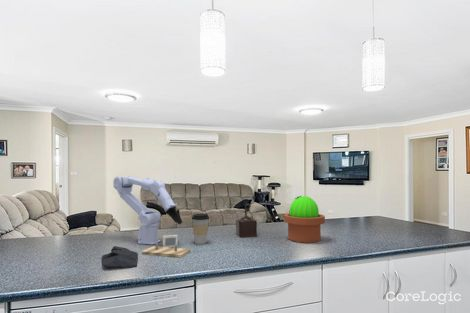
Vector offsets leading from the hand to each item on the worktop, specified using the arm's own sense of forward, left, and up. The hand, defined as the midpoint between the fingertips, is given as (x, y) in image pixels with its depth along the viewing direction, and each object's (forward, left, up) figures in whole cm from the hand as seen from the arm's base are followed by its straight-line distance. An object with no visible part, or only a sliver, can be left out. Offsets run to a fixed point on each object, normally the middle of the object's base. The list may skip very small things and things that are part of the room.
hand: (179, 222), depth 148 cm
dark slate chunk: (-13, -29, -13) cm, 34 cm away
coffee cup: (+8, +10, -12) cm, 18 cm away
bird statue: (+26, +37, -12) cm, 47 cm away
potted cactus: (+61, +34, -12) cm, 71 cm away
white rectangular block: (-4, -1, -12) cm, 13 cm away
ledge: (0, -12, -12) cm, 17 cm away
